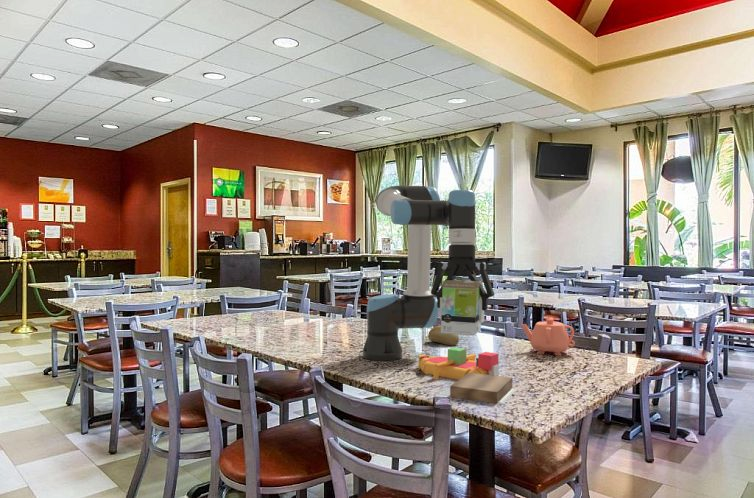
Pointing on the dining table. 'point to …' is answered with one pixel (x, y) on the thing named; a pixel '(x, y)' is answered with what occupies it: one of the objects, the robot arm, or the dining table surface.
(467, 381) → the pedestal
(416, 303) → the robot arm
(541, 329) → the teapot
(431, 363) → the raft
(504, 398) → the blueprint board
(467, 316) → the tea box
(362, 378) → the dining table surface
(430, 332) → the bread roll
